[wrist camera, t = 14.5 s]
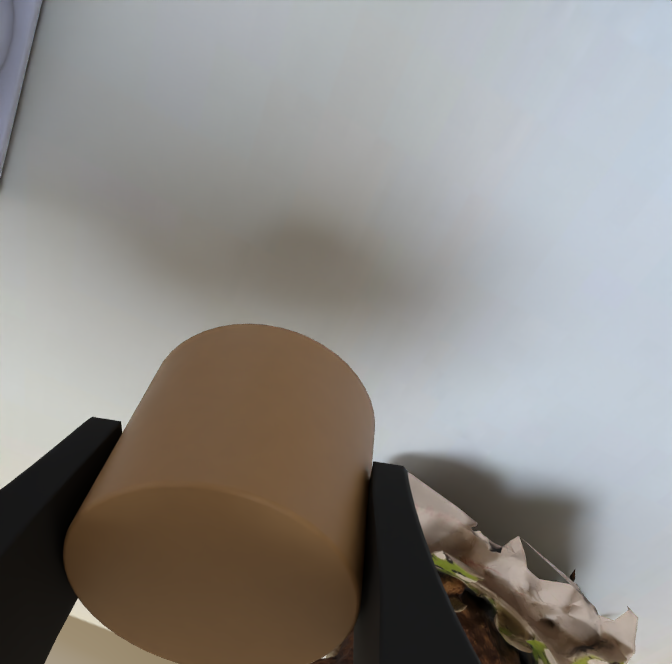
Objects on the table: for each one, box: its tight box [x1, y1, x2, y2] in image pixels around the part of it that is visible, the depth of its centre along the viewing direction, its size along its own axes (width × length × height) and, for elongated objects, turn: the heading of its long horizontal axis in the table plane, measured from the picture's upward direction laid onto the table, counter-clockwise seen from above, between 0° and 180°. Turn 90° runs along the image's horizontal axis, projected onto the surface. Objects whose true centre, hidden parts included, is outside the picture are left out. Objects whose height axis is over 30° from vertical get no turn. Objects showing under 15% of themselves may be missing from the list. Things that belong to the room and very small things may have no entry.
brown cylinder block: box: [63, 324, 375, 664], centre depth 13 cm, size 5×5×5 cm
